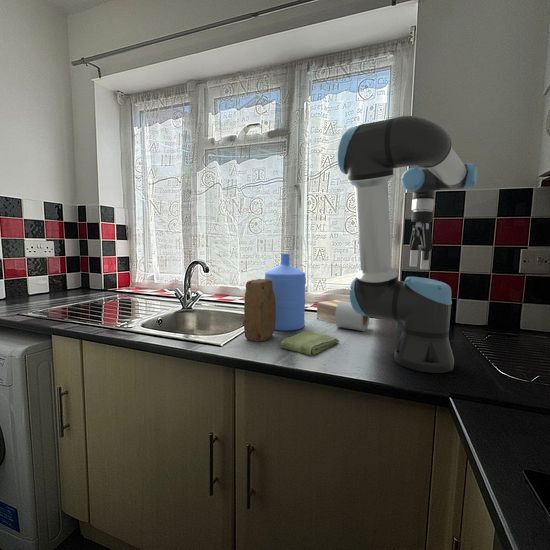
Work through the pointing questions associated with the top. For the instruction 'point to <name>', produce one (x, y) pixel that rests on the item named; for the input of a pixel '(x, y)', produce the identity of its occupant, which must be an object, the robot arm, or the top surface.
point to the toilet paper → (350, 317)
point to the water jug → (288, 295)
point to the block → (259, 310)
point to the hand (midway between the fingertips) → (418, 267)
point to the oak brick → (327, 310)
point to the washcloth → (308, 342)
